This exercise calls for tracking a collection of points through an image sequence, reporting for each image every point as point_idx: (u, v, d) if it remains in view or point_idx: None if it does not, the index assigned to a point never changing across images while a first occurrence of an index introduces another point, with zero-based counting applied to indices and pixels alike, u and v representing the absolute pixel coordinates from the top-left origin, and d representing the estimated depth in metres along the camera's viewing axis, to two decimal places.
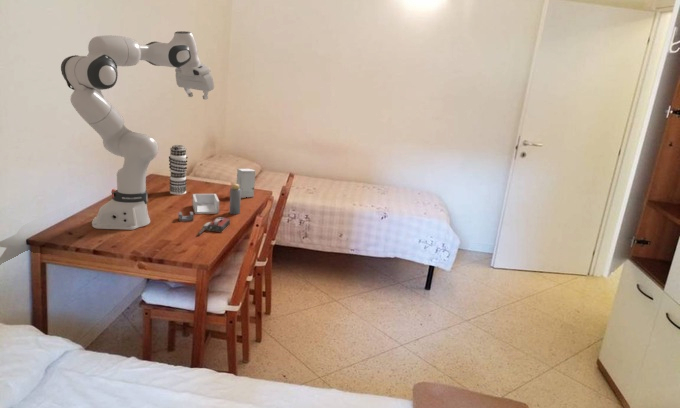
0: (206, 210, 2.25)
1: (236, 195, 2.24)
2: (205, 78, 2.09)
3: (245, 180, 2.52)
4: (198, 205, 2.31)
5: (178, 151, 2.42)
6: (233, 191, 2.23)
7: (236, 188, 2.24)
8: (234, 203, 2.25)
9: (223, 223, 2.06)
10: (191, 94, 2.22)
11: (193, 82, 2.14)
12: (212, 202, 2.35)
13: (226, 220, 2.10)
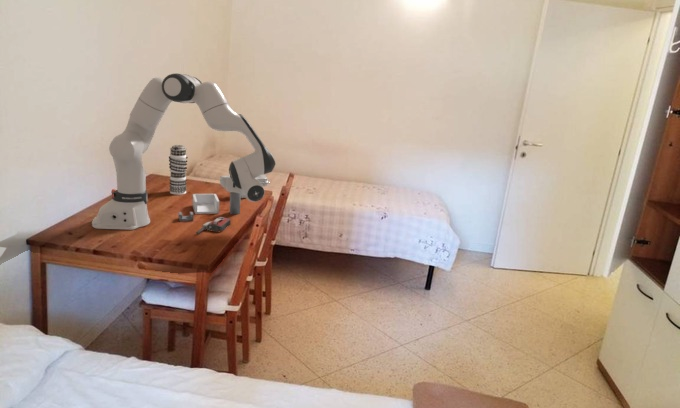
0: (206, 210, 2.25)
1: (236, 195, 2.24)
2: (224, 178, 2.00)
3: None
4: (198, 205, 2.31)
5: (178, 151, 2.42)
6: None
7: None
8: (234, 203, 2.25)
9: (223, 223, 2.06)
10: None
11: None
12: (212, 202, 2.35)
13: (226, 220, 2.10)
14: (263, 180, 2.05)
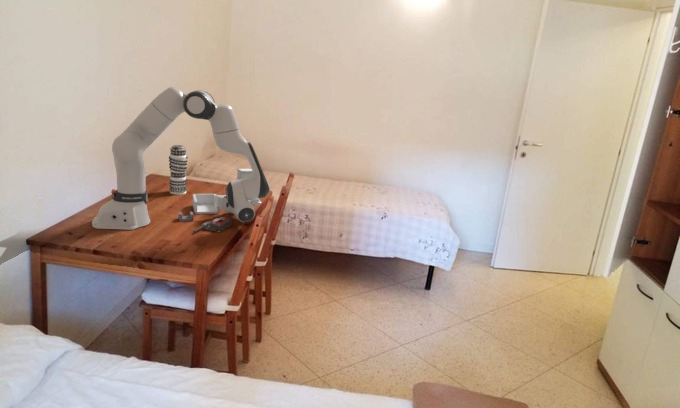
0: (206, 210, 2.25)
1: None
2: (218, 198, 2.14)
3: None
4: (198, 205, 2.31)
5: (178, 151, 2.42)
6: None
7: None
8: None
9: (222, 223, 2.06)
10: None
11: None
12: (212, 202, 2.35)
13: (227, 220, 2.10)
14: (255, 200, 2.19)
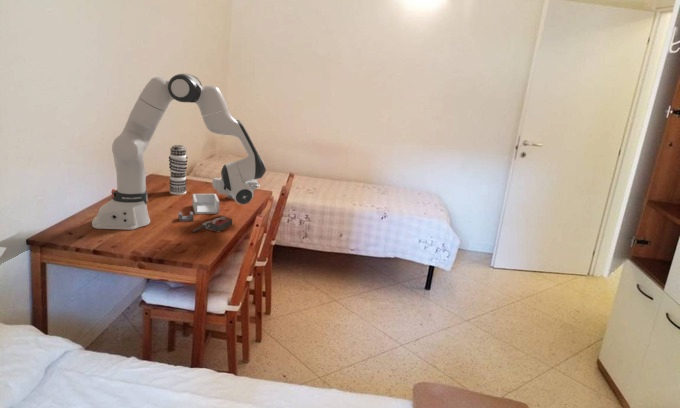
0: (206, 210, 2.25)
1: None
2: (215, 181, 2.11)
3: None
4: (198, 205, 2.31)
5: (178, 151, 2.42)
6: None
7: None
8: None
9: (222, 223, 2.06)
10: None
11: None
12: (212, 202, 2.35)
13: (227, 220, 2.10)
14: (253, 184, 2.16)
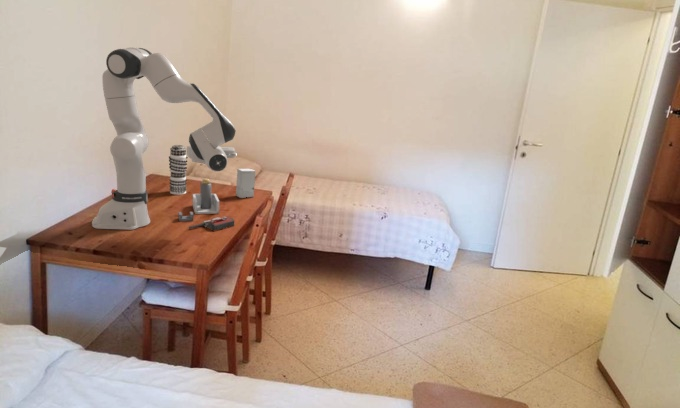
0: (206, 210, 2.25)
1: (207, 190, 2.24)
2: (189, 148, 1.98)
3: (245, 180, 2.52)
4: (198, 205, 2.31)
5: (178, 151, 2.42)
6: (203, 186, 2.23)
7: (206, 183, 2.24)
8: (205, 197, 2.25)
9: (221, 222, 2.06)
10: None
11: None
12: (212, 202, 2.35)
13: (228, 221, 2.10)
14: (230, 152, 2.03)
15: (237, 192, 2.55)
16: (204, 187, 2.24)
